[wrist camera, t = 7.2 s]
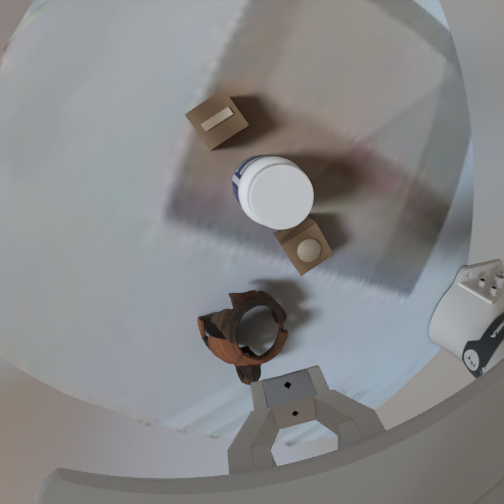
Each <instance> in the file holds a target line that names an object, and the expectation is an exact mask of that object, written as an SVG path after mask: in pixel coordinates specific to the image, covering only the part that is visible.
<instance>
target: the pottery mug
mask: <svg viewBox="0 0 504 504" xmlns="http://www.w3.org/2000/svg"><path fill="white" fill-rule="evenodd" d="M229 296H230V298H231V302H232V305H233V309H224V310H222V311H220V312H217V313H214V314H213V316H212V318H211V322H212V323H214V324H215V325H216V326H217V328H218V329H219V330H220V331H221V332H222V334H223V335H224V336H225V338H218V337H216V336H209V337H208V336H207V335H206V334H205V324H204V321H203V320H202V318H201V317H198V326H199V330H200V333H201V336H202V339H203V341H204V342H205V344H206V346H207V347H208V348H209V349H210V350H211V351H212V353H213V354H214V355H215V356H217V357H218V358H220V359H222V360H223V361H224V362H227V363H229V364H234V365H235V367H236V371H237V374H238V376H239V378H240V380H241V382H242V383H245V384H248V385H250V384H251V382H256V381H258V380H259V378H260V375H261V369H260V367H261V364H263V363H266V362H268V361H269V360H271V359H272V358H274V357H275V356H276V355H277V354H278V353H279V352H280V351H281V349H282V347H283V346H284V344H285V342H286V339H287V335H288V331H287V330H284V329H283V323H284V322H285V320H286V317H287V315H286V313H285V311H284V310H283V308H282V307H281V306H280V305H279V304H278V303H277V302H276V301H275V300H274V299H273V298H272V297H271V296H270V295H268V294H267V293H265V292H262V291H258V292H257V291H255V290H253V291H248V292H245V293H229ZM261 305H263V306H267V307H269V308H271V309H272V310H273V311H272V313H273V317H274V320H275V322H276V323H279V330H278V335H277V338H276V340H275V342H274V344H273V346H272V347H271V348H270V349H269V350H268V351H267V352H266V353H264V354H263V355H260V356H258V355H256V354H255V353H254V352H253V351H251V350H250V348H249V347H248V346H245V347H239V345H238V342H237V340H236V332H237V327H238V324H239V322H240V320H241V318H242V316H243V315H244V314H245V313H246V312H247V311H248V310H250V309H252V308H253V307H256V306H261Z"/></svg>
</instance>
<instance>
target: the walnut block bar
mask: <svg viewBox="0 0 504 504" xmlns="http://www.w3.org/2000/svg"><path fill="white" fill-rule="evenodd" d="M185 115H186V117H187V118H188V120H189V121H190V122H191V124H192V125H193V126H194V128H195V129H196V131H197V132H198V133H199V135H200V136H201V138H202V139H203V140H204V142H205V143H206V145H207V146H208V147H209V149H210V150H213V149H214V148H216V147H217V146H218V145H220V144H221V143H223V142H224V141H226V140H227V139H229V138H231V137H232V136H234V135H235V134H237V133H238V132H240V131H241V130H243V129H245V128H246V127H247V126H249V124H248V123H247V121H246V120H245V119H244V117H243V116H242V114H241V113H240V112H239V110H238V109H237V107H236V106H235V104H234V103H233V102H232V100H231V99H230V98H229V96H228V95H227V93H226V92H225V91H224V90H222V91H220V92H219V93H217V94H216V95H214V96H212V97H211V98H209V99H208V100H206V101H205V102H203V103H201V104H200V105H198V106H197V107H195V108H194V109H192V110H191V111H189V112H188V113H187V114H185Z"/></svg>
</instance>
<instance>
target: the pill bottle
mask: <svg viewBox="0 0 504 504" xmlns="http://www.w3.org/2000/svg"><path fill="white" fill-rule="evenodd" d="M232 189H233V193H234V195H235V197H236V199H237V201H238V202H239V204H240V206H241V207H242V209H243V210H244V212H245V213H246V214H247V215H248V216H249V217H250V218H251V219H252V220H254V221H255V222H257V223H259V224H262V225H265V226H267V227H270V228H273V229H279V230H283V229H289V228H292V227H295V226H297V225H298V224H300V223H301V222H302V221H303V220H304V219H305V218H306V217H307V216H308V214H309V213H310V211H311V209H312V206H313V201H314V191H313V187H312V184H311V182H310V180H309V178H308V177H307V176H306V174H305V173H304V172H303V171H301V169H300V168H299V167H298V166H297V165H296V164H295V163H293V162H292V161H290V160H288V159H286V158H283V157H278V156H253V157H250V158H248V159H246V160H244V161H243V162H242V163H241V164H240V165H239V166H238V167H237V169H236V170H235V172H234V175H233V179H232Z"/></svg>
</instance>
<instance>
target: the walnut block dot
mask: <svg viewBox="0 0 504 504" xmlns="http://www.w3.org/2000/svg"><path fill="white" fill-rule="evenodd" d="M274 235H275V237H276V238H277V240H278V242H279V243H280V245H281V246H282V248H283V249H284V251H285V252H286V254H287V256H288V257H289V259H290V260H291V262H292V263H293V265H294V266H295V268H296V269H297V270H298V272H299V273H300V275H301V276H302V275H303V274H305V273H306V272H308V271H309V270H311V269H312V268H314V267H315V266H317V265H318V264H320V263H321V262H323V261H324V260H326V259H327V258H329V257H330V256H332V255H333V252H332V250H331V249H330V247H329V245H328V243H327V241H326V239H325V237H324V236H323V234H322V232H321V230H320V228H319V227H318V225H317V223H316V222H315V221H313V220H312V219H311V218H309V217H308V216H307V217H306V218H305V219H304V220H303V221H302V222H301V223H300V224H298V225H297V226H295V227H292V228H289V229H283V230H278V231H277V232H275V233H274Z"/></svg>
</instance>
